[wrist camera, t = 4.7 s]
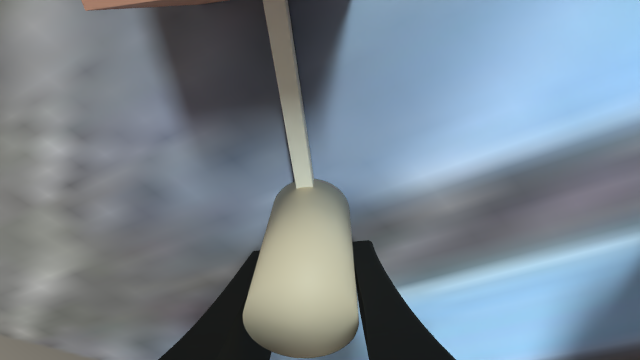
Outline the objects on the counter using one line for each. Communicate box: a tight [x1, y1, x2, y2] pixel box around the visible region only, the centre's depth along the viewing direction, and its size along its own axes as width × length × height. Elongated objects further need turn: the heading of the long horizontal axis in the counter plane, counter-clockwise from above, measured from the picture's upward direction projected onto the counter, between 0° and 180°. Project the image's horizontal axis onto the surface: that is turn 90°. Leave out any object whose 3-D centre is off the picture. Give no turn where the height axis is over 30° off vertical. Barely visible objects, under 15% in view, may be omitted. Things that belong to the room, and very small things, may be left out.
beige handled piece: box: [82, 0, 359, 358], centre depth 8 cm, size 4×14×5 cm, turn 7°
